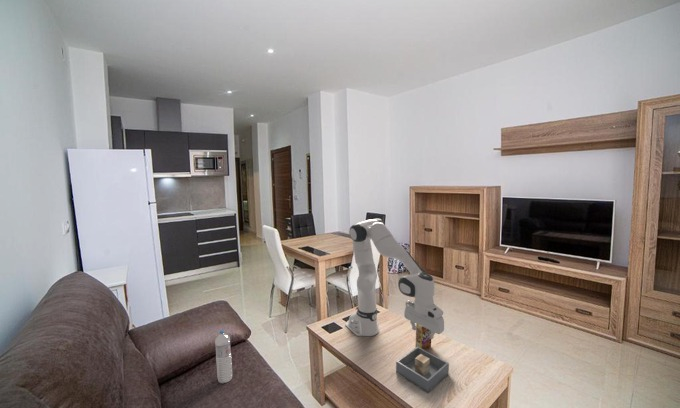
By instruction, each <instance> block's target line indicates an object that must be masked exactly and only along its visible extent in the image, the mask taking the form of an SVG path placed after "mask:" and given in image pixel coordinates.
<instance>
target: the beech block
mask: <svg viewBox="0 0 680 408" xmlns="http://www.w3.org/2000/svg"><path fill="white" fill-rule="evenodd" d="M429 365H430V359H429V358H427V357H426V356H424V355H422V354H420V355H419V356H417V357H416V358H415V372H417V373H418V374H420V375H422V376H423V377H424V376H425V375H426V374H427V373H429Z"/></svg>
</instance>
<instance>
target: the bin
mask: <svg viewBox="0 0 680 408" xmlns="http://www.w3.org/2000/svg"><path fill="white" fill-rule="evenodd" d="M420 354H422V355H424V356H426V357H427V358H429V359H430V365H429V373H427V374H426V375H425V376H424V377H423V376H422V375H420V374H418V373H417V372H415V358H416V357H417V356H419V355H420ZM395 364H396V365H395V373H396V374H397V375H399V376H401V377H402V378H404V379H405V380H407V382H410V383H411V384H413V385H414V386H416V387H418V388H419V389H420V390H422V391H424V392H425V393H427V394H429V393H430V392H431V391H432V390H433V389H434V388H435V387H437V386H438V385H439V384H440V383H441V382H442V381H443V380H444V379H445V378H446V377H448V376H449V367H450V366H449V365H450V363H449V362H447V361H445V360H443V358H442V359H441V358H440V357H439V356H436V355H434V354H432V352H431V353H430V352H429V351H427V350H423V349H421V348H419V347H416V348H415V347H414V348H413V349H412V350H410V351H408V352H407V353H406V354H405V355H404V356H402V357H400V358H399V359H398V360H396V361H395Z"/></svg>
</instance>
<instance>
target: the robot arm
mask: <svg viewBox="0 0 680 408" xmlns="http://www.w3.org/2000/svg"><path fill="white" fill-rule="evenodd" d="M348 233H349V237H350V239H351V240H352V246H353V247H352V249H353V255H354V261H355V264H356V266H357V269H358V277H357V279H356V287H357V297H358V300H357V301H358V306H357V307H355V308H354V309H355V312H353V313H352V314H351V315H350V316H349V318H348V320H347V321H346V322H345V326H346V327H347V329H348V330H350V331H351V332H352V333H353V334H354V335H355V336H357V337H361V336H364V337H372V336H373V337H374V336H375V335H377V334H378V333H379V332H380V329H379V323H378V308H377V292H376V284H377V278H378V272H377V268H376V264H375V261H374V260H375V259H374V255H373V249H372V243H373V245H374V247H375V249H376V250H377V252H378V253H379V254H380V255H381V256H382V257H384V258H390V259H394V260H398V261H400V263H402V264H403V265H404V267H405V268H406V269H407V271H408V272H409V273H410V274H407V275H403V276H402V277H400V278H399V279H398V282H397V285H398V290H399V291H400V293H402V295H403V296H405V297H409V298H414V302H413V301H411V300H407V301H406V302H405V308H404V313H403V314H404V315H403V316H404V318H405V319H407V320H409V322H410V325H411V326H412V328H411V329H412V331H416V329H417V326H416V324H418V325H420V326H423V327H425V328H427V329H429V330H431V333H432V334H429V338H430V339H431V340H434V338H435V337H434V336H435V335H440V334H442V333H443V332H444V331H445V319H444V317H443V315H444V310H442V309H441V308H440V307H438V306H437V305H436V304H435V301H434V296H435V281H434V277H433V276H432V275H431V274H429V272H426V271H425V270H424V269H422V267H420V265H419V264H418V262H417V261H416V260H415V259H414V257H413V256H412V255H411V254H410V252H409V250H407V249H406V248H405V247H404V246H402V245H401V244H400V243H399V242H398V241H397V240H396V238H395V237H394V235H393V234H392V232H391V231H390V229H388V227H387V226H386V225H385V222H384V221H383V220H382V219H381V218H373V219H366V220H364V221H361V222H358V223H354V224H352V225H351V226H350V228H349V231H348ZM371 241H372V243H371Z"/></svg>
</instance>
